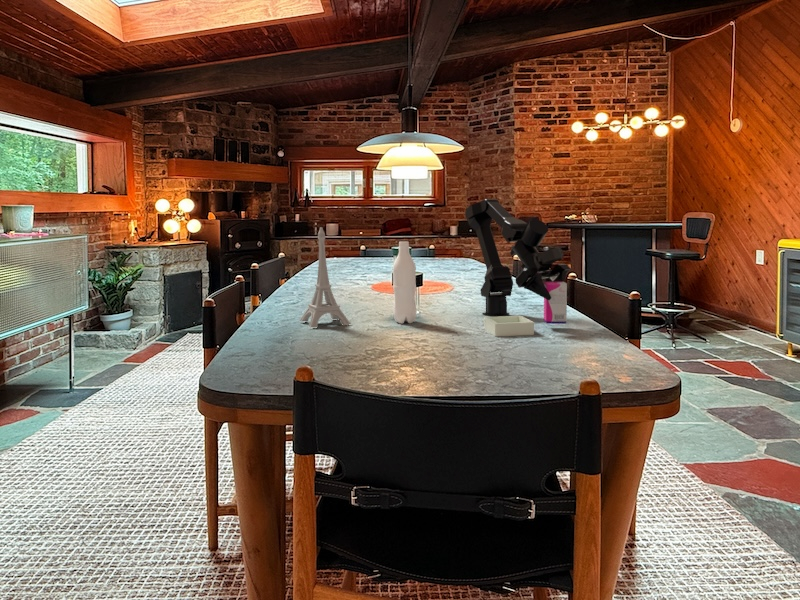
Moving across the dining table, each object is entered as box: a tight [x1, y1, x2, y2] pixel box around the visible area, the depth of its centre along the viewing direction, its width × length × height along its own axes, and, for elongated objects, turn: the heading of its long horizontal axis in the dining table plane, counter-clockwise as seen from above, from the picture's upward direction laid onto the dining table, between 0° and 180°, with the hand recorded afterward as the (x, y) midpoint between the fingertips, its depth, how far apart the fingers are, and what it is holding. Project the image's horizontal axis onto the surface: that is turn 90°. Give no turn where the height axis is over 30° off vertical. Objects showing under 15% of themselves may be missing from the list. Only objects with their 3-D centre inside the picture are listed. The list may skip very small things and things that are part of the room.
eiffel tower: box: [299, 226, 351, 327], centre depth 195 cm, size 13×13×30 cm
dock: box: [483, 315, 535, 337], centre depth 180 cm, size 11×11×4 cm
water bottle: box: [392, 240, 417, 324], centre depth 196 cm, size 7×7×25 cm
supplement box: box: [543, 281, 568, 324], centre depth 182 cm, size 6×6×12 cm
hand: (559, 297), depth 181 cm, fingers closed on supplement box, 8 cm apart
